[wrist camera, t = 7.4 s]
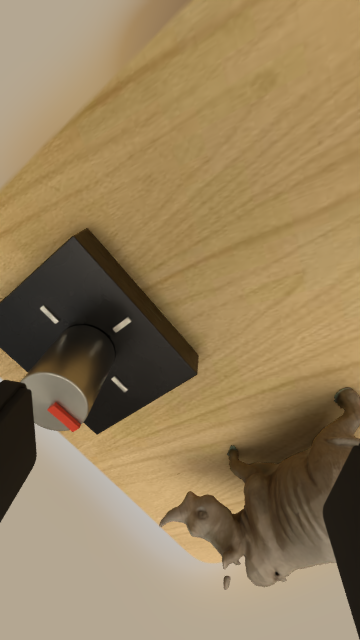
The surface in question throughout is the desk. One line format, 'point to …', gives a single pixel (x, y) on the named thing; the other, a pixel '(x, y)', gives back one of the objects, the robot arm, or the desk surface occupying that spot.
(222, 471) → the desk surface
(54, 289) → the dial panel
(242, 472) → the rhinoceros figurine
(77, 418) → the dial
